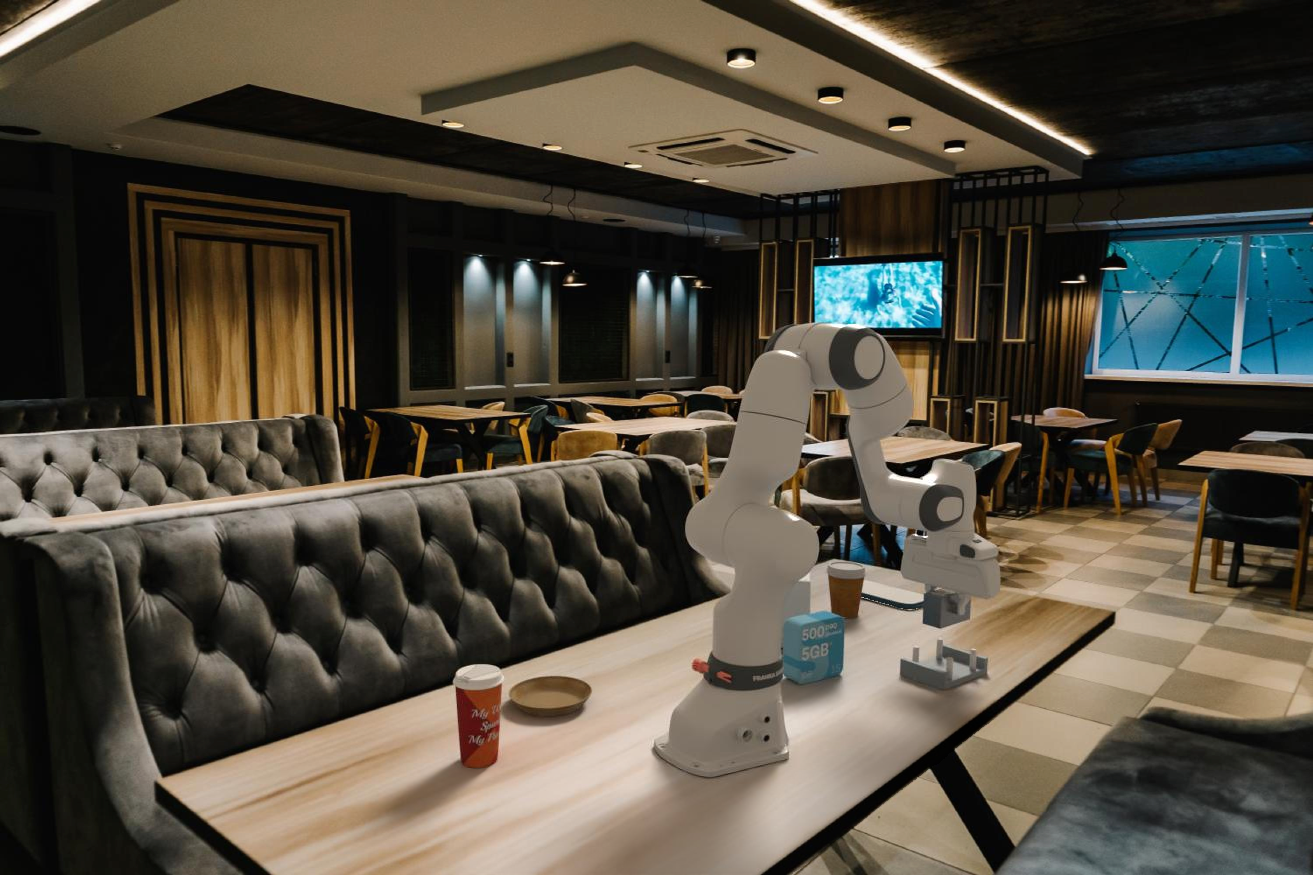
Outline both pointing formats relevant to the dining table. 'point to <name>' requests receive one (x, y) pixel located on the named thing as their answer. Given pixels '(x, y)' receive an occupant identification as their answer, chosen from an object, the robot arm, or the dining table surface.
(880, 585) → the white teal rounded slab
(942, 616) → the block
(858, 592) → the disposable coffee cup
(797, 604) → the supplement box
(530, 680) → the plant saucer
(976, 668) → the tray
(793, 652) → the data package
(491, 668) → the paper cup
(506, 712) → the dining table surface
